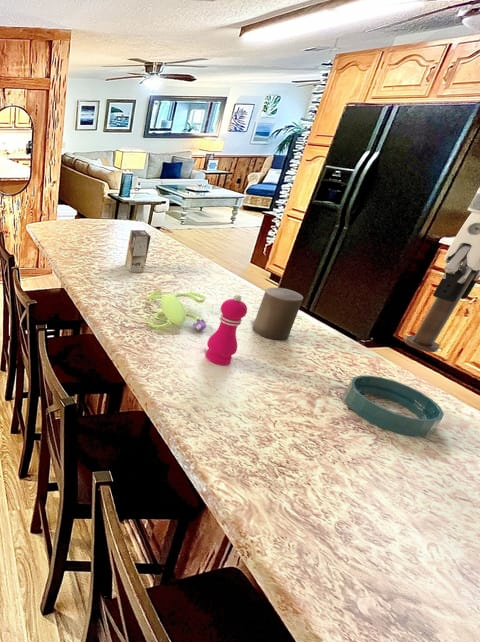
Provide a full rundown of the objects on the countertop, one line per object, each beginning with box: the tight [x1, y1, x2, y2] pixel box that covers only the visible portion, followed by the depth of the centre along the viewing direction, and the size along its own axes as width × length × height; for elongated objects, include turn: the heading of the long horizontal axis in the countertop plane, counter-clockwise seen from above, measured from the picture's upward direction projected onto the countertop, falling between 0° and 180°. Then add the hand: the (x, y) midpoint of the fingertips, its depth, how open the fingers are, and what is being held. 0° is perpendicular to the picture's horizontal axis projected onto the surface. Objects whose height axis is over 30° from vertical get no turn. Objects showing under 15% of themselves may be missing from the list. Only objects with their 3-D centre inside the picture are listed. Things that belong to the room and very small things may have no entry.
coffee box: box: [124, 229, 152, 273], centre depth 167 cm, size 9×6×16 cm
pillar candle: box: [252, 286, 304, 341], centre depth 119 cm, size 10×10×15 cm
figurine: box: [146, 289, 207, 331], centre depth 130 cm, size 18×27×6 cm
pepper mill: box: [205, 294, 248, 366], centre depth 104 cm, size 7×7×20 cm
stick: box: [404, 269, 475, 353], centre depth 78 cm, size 5×5×17 cm
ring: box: [341, 374, 445, 438], centre depth 88 cm, size 15×15×6 cm
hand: (449, 296), depth 77 cm, fingers closed on stick, 3 cm apart
